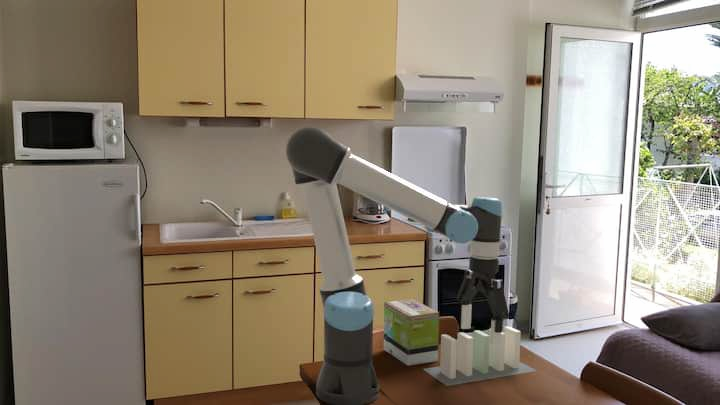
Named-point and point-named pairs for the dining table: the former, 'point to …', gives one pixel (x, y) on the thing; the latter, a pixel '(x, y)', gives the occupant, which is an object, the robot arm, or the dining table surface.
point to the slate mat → (478, 374)
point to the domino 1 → (448, 356)
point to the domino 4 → (512, 347)
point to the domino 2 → (464, 353)
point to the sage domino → (481, 351)
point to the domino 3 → (497, 353)
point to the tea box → (411, 331)
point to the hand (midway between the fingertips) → (479, 336)
